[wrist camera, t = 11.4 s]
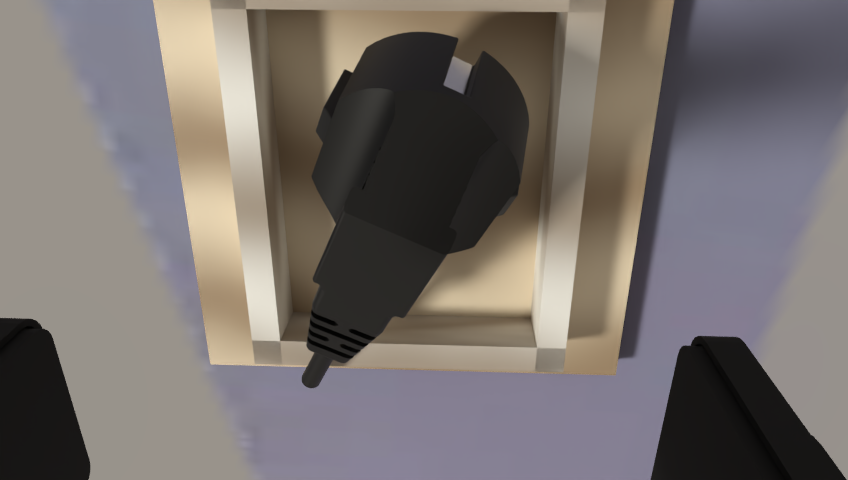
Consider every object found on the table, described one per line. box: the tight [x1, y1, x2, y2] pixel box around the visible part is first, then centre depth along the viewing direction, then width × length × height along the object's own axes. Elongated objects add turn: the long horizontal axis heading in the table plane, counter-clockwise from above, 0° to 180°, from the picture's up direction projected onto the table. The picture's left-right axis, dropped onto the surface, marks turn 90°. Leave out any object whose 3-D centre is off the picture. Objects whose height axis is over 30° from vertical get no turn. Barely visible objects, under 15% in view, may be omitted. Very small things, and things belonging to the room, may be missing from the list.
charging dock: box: [153, 0, 674, 375], centre depth 21 cm, size 16×16×3 cm
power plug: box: [302, 32, 529, 388], centre depth 20 cm, size 6×8×12 cm
